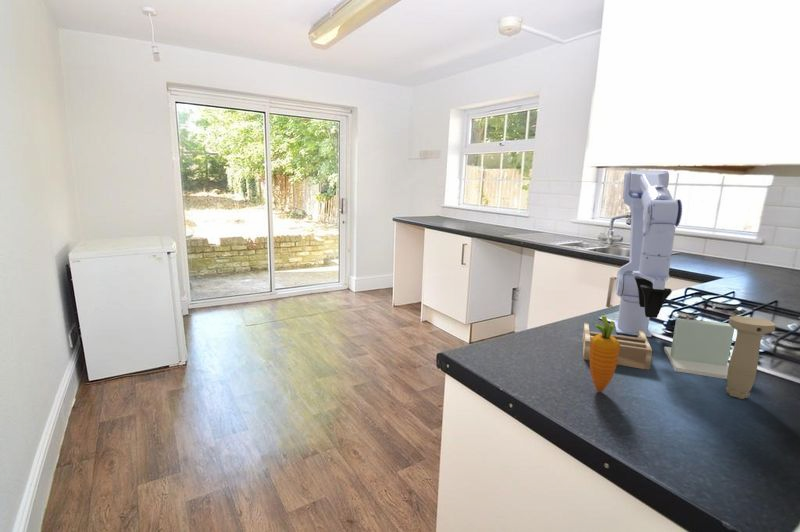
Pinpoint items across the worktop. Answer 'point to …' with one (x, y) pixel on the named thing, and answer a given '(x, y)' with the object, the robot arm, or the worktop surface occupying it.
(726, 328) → the sheet
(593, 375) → the carrot
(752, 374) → the handle
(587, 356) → the rack
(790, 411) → the worktop surface
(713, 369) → the tile
